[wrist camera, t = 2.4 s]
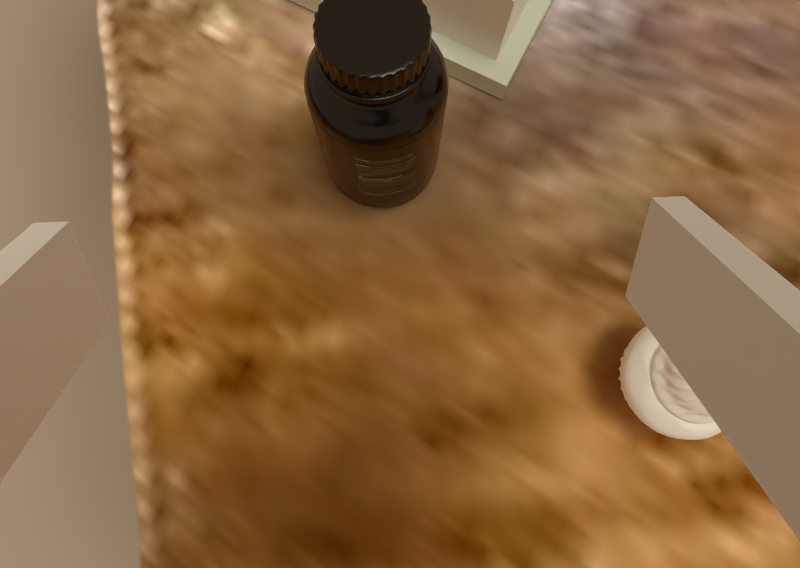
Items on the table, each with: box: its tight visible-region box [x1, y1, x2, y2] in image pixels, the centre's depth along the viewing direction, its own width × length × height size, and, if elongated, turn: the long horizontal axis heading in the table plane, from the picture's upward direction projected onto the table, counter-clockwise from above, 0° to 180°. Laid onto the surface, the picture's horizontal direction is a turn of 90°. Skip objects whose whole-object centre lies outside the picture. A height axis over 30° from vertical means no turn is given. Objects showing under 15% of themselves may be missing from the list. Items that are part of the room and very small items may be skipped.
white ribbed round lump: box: [618, 326, 722, 440], centre depth 26 cm, size 6×6×7 cm
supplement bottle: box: [304, 0, 448, 206], centre depth 26 cm, size 7×7×12 cm
